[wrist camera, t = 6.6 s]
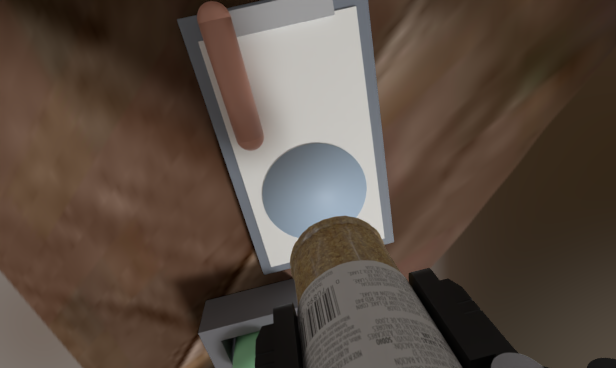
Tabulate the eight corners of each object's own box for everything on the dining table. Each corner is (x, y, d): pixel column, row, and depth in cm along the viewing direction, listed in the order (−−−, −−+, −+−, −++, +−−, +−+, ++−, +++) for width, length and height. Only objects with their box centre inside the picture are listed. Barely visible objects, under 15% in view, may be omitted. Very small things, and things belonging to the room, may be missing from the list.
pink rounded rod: (195, 6, 15) (188, 3, 13) (227, -2, 15) (223, -4, 14) (241, 147, 19) (239, 157, 17) (266, 141, 19) (267, 151, 17)
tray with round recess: (179, 20, 16) (173, 18, 15) (362, -20, 16) (368, -25, 15) (263, 269, 23) (263, 279, 22) (391, 237, 23) (396, 245, 22)
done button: (228, 325, 23) (223, 362, 20) (280, 311, 23) (282, 346, 20) (244, 360, 24) (241, 398, 22) (292, 347, 25) (296, 384, 22)
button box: (205, 300, 23) (197, 333, 21) (294, 278, 24) (297, 307, 21) (233, 360, 26) (229, 395, 24) (311, 339, 27) (317, 372, 24)
